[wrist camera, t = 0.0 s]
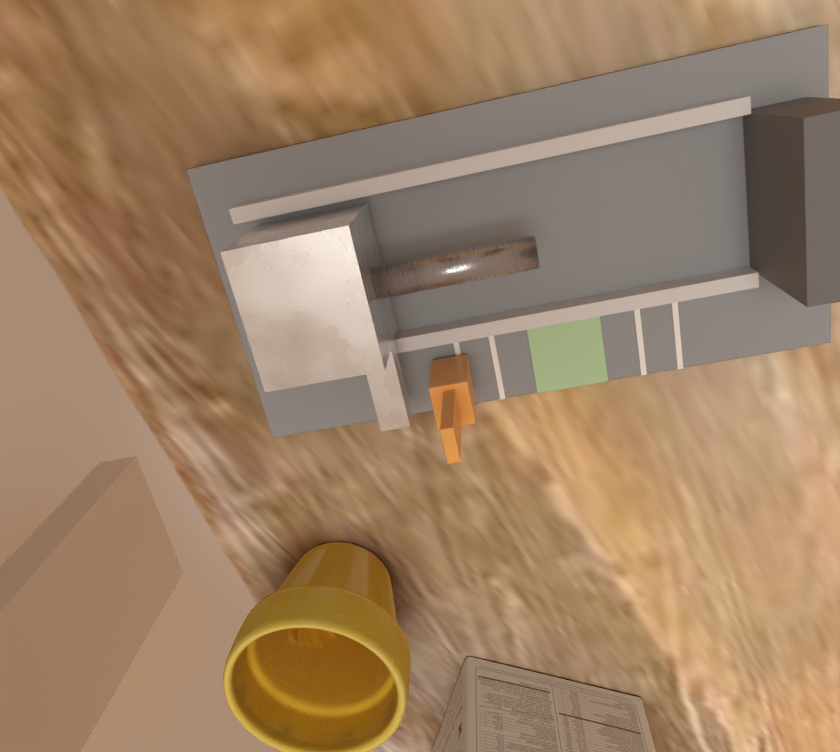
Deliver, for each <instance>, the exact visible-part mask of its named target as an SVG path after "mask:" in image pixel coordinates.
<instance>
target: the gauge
mask: <svg viewBox="0 0 840 752" xmlns="http://www.w3.org/2000/svg"><path fill="white" fill-rule="evenodd" d="M220 253H221V256H222V259H223V263H224V266H225V269H226V272H227V275H228V278H229V281H230V284H231V288H232V291H233V294H234V297H235V300H236V303H237V306H238V310H239V313H240V316H241V319H242V322H243V325H244V328H245V331H246V335H247V338H248V341H249V344H250V347H251V350H252V353H253V356H254V360H255V363H256V366H257V369H258V372H259V375H260V378H261V381H262V385H263V388H264V391H265V392H270V391H276V390H281V389H287V388H292V387H298V386H303V385H309V384H315V383H320V382H326V381H331V380H337V379H342V378H348V377H354V376H359V375H365V374H366V376H367V380H368V383H369V387H370V391H371V395H372V399H373V403H374V406H375V410H376V414H377V418H378V422H379V425H380V429H381V431H387V430H393V429H399V428H405V427H410V424H411V418H412V411H411V407H410V403H409V398H408V394H407V390H406V386H405V382H404V378H403V374H402V369H401V365H400V361H399V357H398V353H397V349H396V345H395V340H394V337H395V333H396V330H397V324H396V320H395V316H394V312H393V307H392V303H391V299H390V297H394V296H400V295H405V294H410V293H415V292H420V291H425V290H431V289H436V288H441V287H446V286H451V285H456V284H462V283H467V282H472V281H477V280H482V279H487V278H493V277H498V276H503V275H508V274H513V273H518V272H524V271H529V270H534V269H539V268H540V266H539V258H538V252H537V246H536V241H535V237H534V235H532V236H527V237H522V238H517V239H512V240H507V241H502V242H497V243H492V244H487V245H482V246H477V247H472V248H467V249H462V250H457V251H452V252H447V253H442V254H437V255H432V256H427V257H422V258H417V259H412V260H407V261H402V262H397V263H392V264H387V265H382V261H381V257H380V253H379V249H378V244H377V240H376V236H375V232H374V228H373V223H372V219H371V215H370V211H369V207H368V203H367V202H364V203H360V204H355V205H350V206H346V207H341V208H336V209H331V210H327V211H322V212H317V213H313V214H308V215H303V216H299V217H294V218H289V219H284V220H280V221H275V222H270V223H266V224H261V225H258V226H256V227H255V228H254V229H252V230H251V231H249V232H248V233H247V234H245V235H244V236H242V237H241V238H240V239H238V240H237V241H235V242H234V243H233V244H231V245H230V246H228V247H227V248H225V249H224V250H223V251H221V252H220Z"/></svg>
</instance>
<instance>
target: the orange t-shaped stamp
mask: <svg viewBox="0 0 840 752" xmlns="http://www.w3.org/2000/svg"><path fill="white" fill-rule="evenodd" d="M429 392H430V397H431V401H432V405H433V410H434V414H435V418H436V423H437V427H438V430H439V429H440V431H441V435H442V440H443V444H444V449H445V453H446V457H447V462H448V464H449V463H455V462H461V426H463V425H469V424H475V423H476V421H475V391H474V386H473V381H472V376H471V371H470V367H469V362H468V357H467V354H464V355H459V356H453V357H448V358H442V359H437V360H432V365H431V373H430V381H429Z"/></svg>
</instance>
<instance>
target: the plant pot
mask: <svg viewBox="0 0 840 752" xmlns="http://www.w3.org/2000/svg"><path fill="white" fill-rule="evenodd" d="M409 680H410V651H409V646H408V642H407V639H406V637H405V635H404V633H403V631H402V629H401V627H400V626H399V625H398V623H397V618H396V612H395V605H394V598H393V591H392V584H391V579H390V575H389V573H388V571H387V569H386V567H385V566H384V564H383V563H382V562H381V560H380V559H379V558H378V557H376V556H375V555H374V554H373V553H371V552H370V551H368V550H367V549H365V548H363V547H360V546H358V545H355V544H351V543H345V542H332V543H325V544H322V545H319V546H316V547H314V548H312V549H311V550H309V551H308V552H307V553H305V554H304V555H303V556H302V558H301V559H300V560H299V561H298V563H297V564H296V565H295V567H294V568H293V569H292V571H291V572H290V573H289V575H288V576H287V577H286V579H285V580H284V581H283V583H282V584H281V585H280V587H279V588H278V589H277V591H276V592H275V593H273V594H271V595H269V596H267V597H266V598H264V599H263V600H262V601H260V602H259V603H258V604H257V605H256V606H255V607H254V608H253V609H252V610H251V612H250V613H249V614H248V616H247V617H246V619H245V621H244V623H243V625H242V626H241V628H240V631H239V633H238V634H237V637H236V639H235V641H234V643H233V645H232V648H231V650H230V653H229V655H228V658H227V660H226V663H225V668H224V673H223V686H224V692H225V696H226V700H227V702H228V705H229V707H230V709H231V710H232V712H233V714H234V715H235V717H236V718H237V719H238V721H239V722H240V723H241V724H242V725H243V726H244V727H245V728H246V729H247V730H248V731H249V732H250V733H251V734H252V735H254V736H255V737H256V738H258V739H259V740H261V741H262V742H264V743H266V744H267V745H269V746H271V747H273V748H275V749H277V750H280V751H282V752H369V751H371V750H373V749H375V748H377V747H378V746H380V745H381V744H383V743H384V742H385V741H386V740H388V739H389V738H390V737H391V736H392V735H393V734H394V732H395V731H396V730H397V728H398V727H399V725H400V723H401V722H402V719H403V717H404V714H405V711H406V707H407V700H408V691H409Z"/></svg>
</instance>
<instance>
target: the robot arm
mask: <svg viewBox="0 0 840 752" xmlns="http://www.w3.org/2000/svg"><path fill="white" fill-rule="evenodd" d="M182 573H183V571H182V569H181V566H180V564H179V562H178V559H177V556H176V554H175V551H174V549H173V546H172V544H171V541H170V539H169V537H168V534H167V532H166V529H165V527H164V524H163V522H162V519H161V517H160V514H159V512H158V509H157V507H156V504H155V502H154V499H153V497H152V494H151V492H150V490H149V487H148V485H147V482H146V480H145V477H144V475H143V472H142V470H141V467H140V465H139V462H138V460H137V458H136V456H135V457H129V458H123V459H117V460H112V461H106V462H100V463H99V464H98V465H97V466H96V467H95V468H94V469H93V470H92V471H91V472H90V473H89V474H88V475H87V476H86V477H85V478H84V480H83V481H82V482H81V483H80V484H79V485H78V486H77V487H76V488H75V489H74V490H73V491H72V492H71V493H70V494H69V495H68V496H67V497H66V498H65V500H63V502H62V503H61V504H60V505H59V506H58V507H57V508H56V509H55V510H54V511H53V512H52V513H51V514H50V515H49V516H48V518H46V519H45V520H44V522H43V523H42V524H41V525H40V526H39V527H38V528H37V529H36V530H35V531H34V532H33V533H32V534H31V536H29V537H28V538H27V539H26V540H25V541H24V543H23V544H22V545H21V546H20V547H19V548H18V549H17V550H16V551H15V552H14V553H13V554H12V555H11V556H10V557H9V558H8V559H7V560H6V561H5V562H4V564H3V565H2V566H1V567H0V752H81V750H82V748H83V747H84V745H85V743H86V741H87V739H88V738H89V736H90V734H91V733H92V731H93V729H94V727H95V725H96V724H97V722H98V720H99V719H100V717H101V715H102V713H103V712H104V710H105V708H106V706H107V705H108V703H109V701H110V699H111V698H112V696H113V694H114V692H115V691H116V689H117V687H118V685H119V684H120V682H121V680H122V678H123V677H124V675H125V673H126V671H127V670H128V668H129V666H130V664H131V663H132V661H133V659H134V657H135V656H136V654H137V652H138V650H139V649H140V647H141V645H142V643H143V642H144V640H145V638H146V636H147V635H148V633H149V631H150V630H151V628H152V626H153V624H154V622H155V621H156V619H157V617H158V616H159V614H160V612H161V610H162V608H163V607H164V605H165V603H166V601H167V600H168V598H169V596H170V594H171V593H172V591H173V589H174V588H175V586H176V584H177V582H178V581H179V579H180V577H181V575H182Z"/></svg>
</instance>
